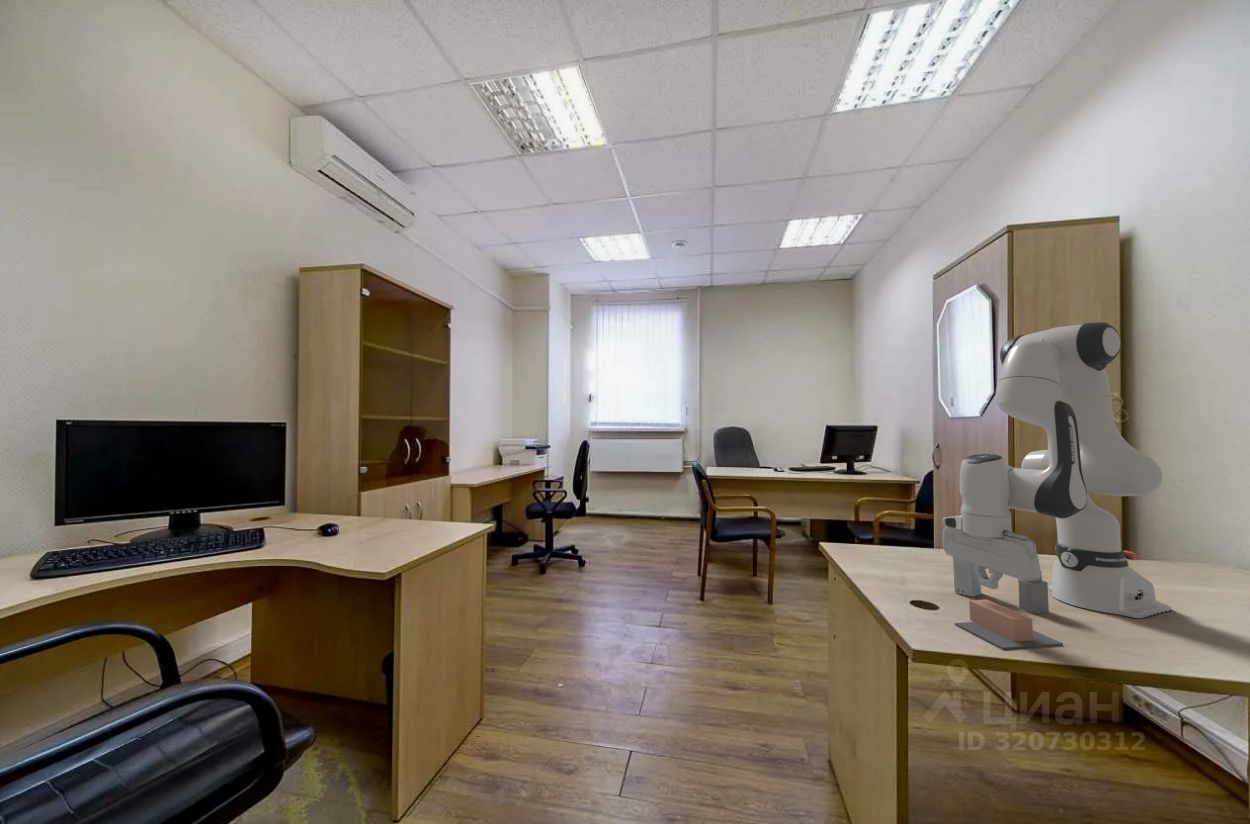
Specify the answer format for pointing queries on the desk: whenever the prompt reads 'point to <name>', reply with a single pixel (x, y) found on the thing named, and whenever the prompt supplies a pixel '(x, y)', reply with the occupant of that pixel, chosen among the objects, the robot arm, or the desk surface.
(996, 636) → the mat
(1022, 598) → the power adapter
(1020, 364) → the robot arm
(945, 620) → the desk surface
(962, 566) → the skincare box
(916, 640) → the desk surface
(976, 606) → the block
